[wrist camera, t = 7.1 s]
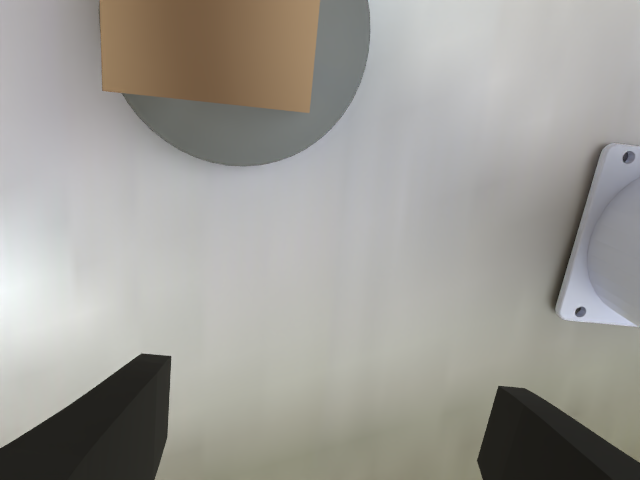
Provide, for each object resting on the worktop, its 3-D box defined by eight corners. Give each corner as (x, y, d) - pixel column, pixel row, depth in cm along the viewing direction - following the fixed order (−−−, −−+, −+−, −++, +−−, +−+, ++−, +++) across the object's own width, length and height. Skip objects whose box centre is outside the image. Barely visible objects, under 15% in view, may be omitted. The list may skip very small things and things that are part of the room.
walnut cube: (319, -50, 15) (331, -124, 10) (305, 110, 16) (309, 113, 11) (162, -71, 14) (94, -160, 9) (161, 95, 16) (102, 90, 11)
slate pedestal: (379, -78, 16) (390, -102, 14) (344, 171, 19) (350, 179, 17) (121, -121, 15) (96, -152, 14) (121, 145, 18) (101, 150, 16)
